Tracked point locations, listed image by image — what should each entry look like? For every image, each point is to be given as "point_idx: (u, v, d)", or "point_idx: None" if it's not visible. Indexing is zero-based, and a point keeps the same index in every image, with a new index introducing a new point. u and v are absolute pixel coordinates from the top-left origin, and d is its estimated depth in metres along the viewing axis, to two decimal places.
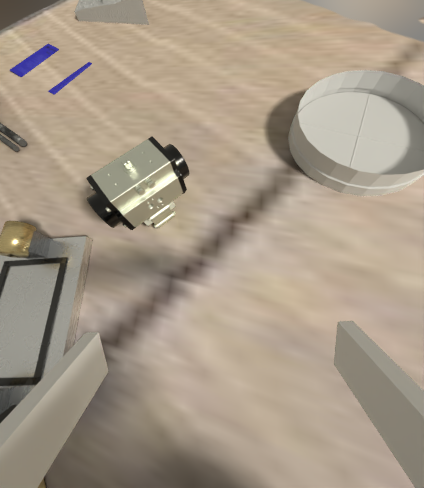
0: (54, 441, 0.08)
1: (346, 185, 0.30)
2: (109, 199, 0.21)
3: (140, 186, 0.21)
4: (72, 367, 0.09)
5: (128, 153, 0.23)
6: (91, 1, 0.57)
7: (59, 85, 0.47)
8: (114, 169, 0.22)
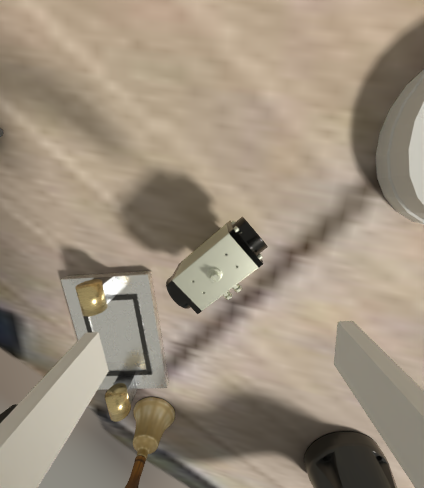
0: (54, 441, 0.08)
1: (423, 223, 0.27)
2: (200, 308, 0.22)
3: (228, 294, 0.21)
4: (72, 367, 0.09)
5: (208, 254, 0.20)
6: None
7: None
8: (196, 274, 0.21)
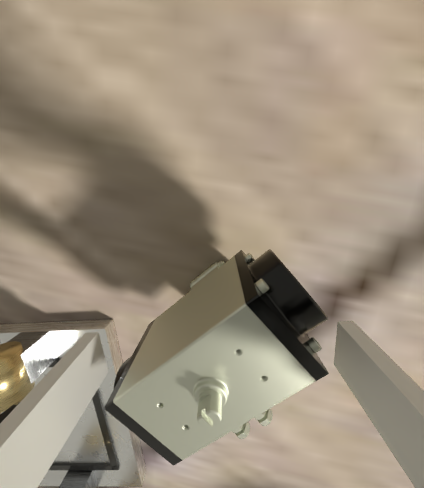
0: (54, 441, 0.08)
1: None
2: (179, 456, 0.10)
3: (241, 428, 0.09)
4: (72, 367, 0.09)
5: (195, 350, 0.08)
6: None
7: None
8: (168, 391, 0.09)
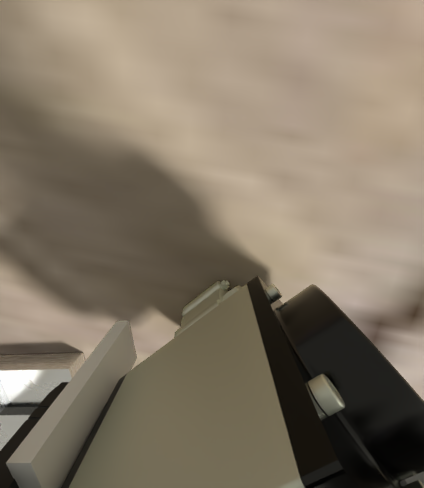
0: None
1: None
2: None
3: None
4: (111, 350, 0.10)
5: None
6: None
7: None
8: None
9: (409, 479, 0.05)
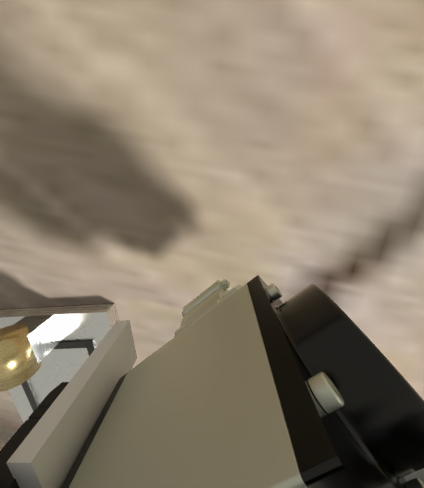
0: None
1: None
2: None
3: None
4: (111, 350, 0.10)
5: None
6: None
7: None
8: None
9: (408, 479, 0.05)
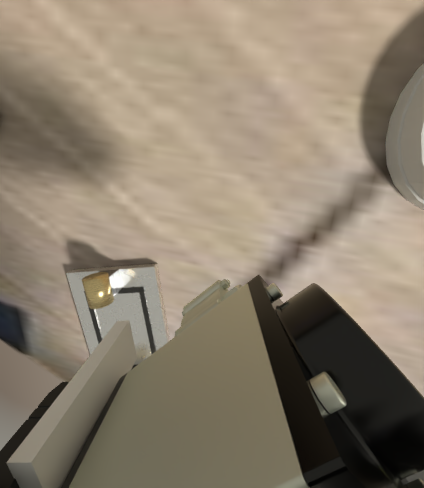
0: None
1: None
2: None
3: None
4: (111, 350, 0.10)
5: None
6: None
7: None
8: None
9: (408, 479, 0.05)
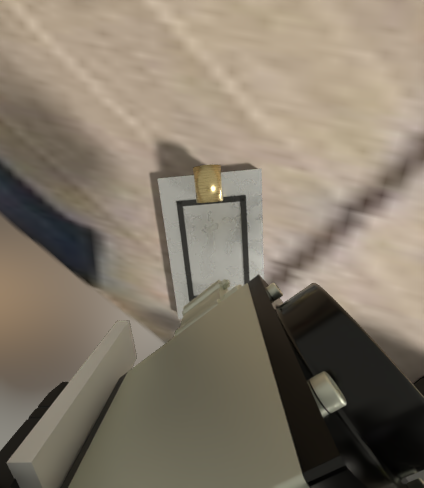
0: None
1: None
2: None
3: None
4: (111, 350, 0.10)
5: None
6: None
7: None
8: None
9: (408, 478, 0.05)
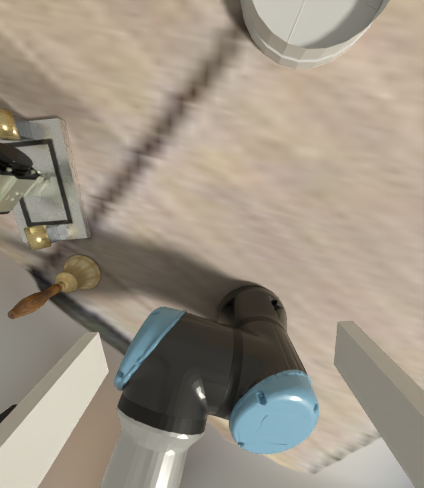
0: (54, 441, 0.08)
1: (281, 57, 0.32)
2: None
3: None
4: (72, 367, 0.09)
5: None
6: None
7: None
8: None
9: None
